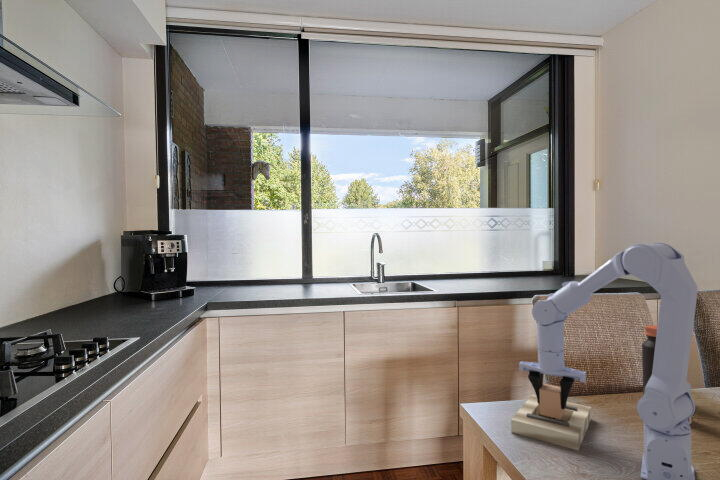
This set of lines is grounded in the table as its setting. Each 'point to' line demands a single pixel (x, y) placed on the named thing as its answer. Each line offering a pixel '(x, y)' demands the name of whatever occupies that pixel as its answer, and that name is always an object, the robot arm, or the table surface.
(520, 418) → the slotted wooden holder
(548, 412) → the block
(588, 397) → the table surface
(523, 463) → the table surface
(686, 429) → the robot arm
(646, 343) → the vinegar
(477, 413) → the table surface
